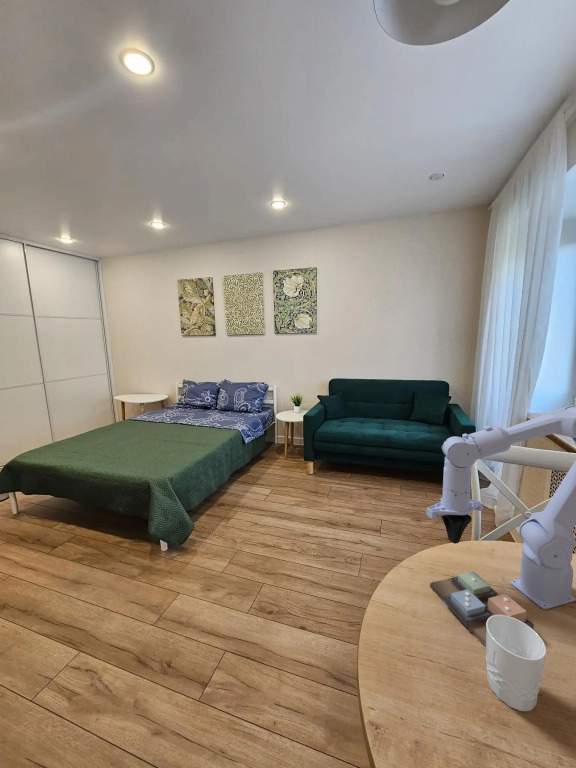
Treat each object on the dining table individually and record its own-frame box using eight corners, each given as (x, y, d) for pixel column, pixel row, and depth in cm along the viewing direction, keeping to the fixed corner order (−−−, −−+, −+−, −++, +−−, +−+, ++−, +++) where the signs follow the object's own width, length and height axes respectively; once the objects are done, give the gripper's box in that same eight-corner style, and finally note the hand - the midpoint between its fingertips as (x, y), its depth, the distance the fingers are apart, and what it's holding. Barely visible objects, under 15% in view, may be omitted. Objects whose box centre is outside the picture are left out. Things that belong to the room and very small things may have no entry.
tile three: (467, 599, 68) (467, 588, 67) (484, 616, 63) (485, 605, 63) (450, 603, 67) (450, 592, 66) (466, 621, 62) (467, 609, 62)
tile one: (473, 580, 73) (474, 570, 73) (489, 595, 69) (490, 584, 68) (457, 584, 72) (458, 574, 72) (473, 599, 68) (474, 588, 67)
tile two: (504, 604, 65) (505, 592, 65) (525, 622, 61) (526, 610, 60) (487, 608, 64) (488, 597, 64) (507, 627, 60) (508, 615, 59)
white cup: (552, 722, 46) (558, 664, 45) (494, 710, 48) (499, 654, 47) (523, 668, 54) (528, 618, 53) (475, 660, 56) (478, 611, 55)
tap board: (468, 577, 75) (469, 568, 75) (539, 641, 59) (540, 630, 59) (426, 587, 73) (427, 578, 72) (489, 657, 56) (490, 645, 56)
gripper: (467, 477, 78) (465, 526, 80) (419, 484, 75) (416, 535, 76) (492, 489, 71) (488, 543, 73) (439, 497, 68) (437, 554, 70)
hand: (453, 540), depth 74 cm, fingers closed
